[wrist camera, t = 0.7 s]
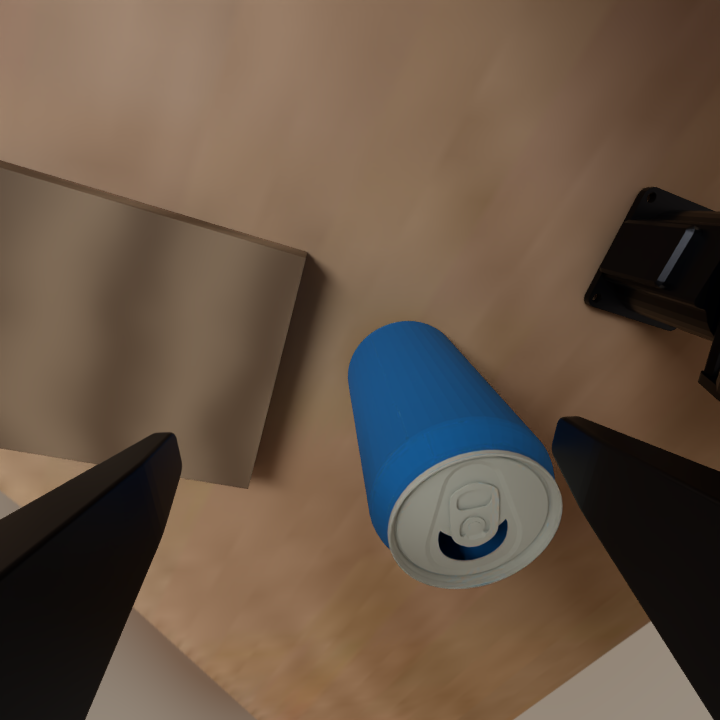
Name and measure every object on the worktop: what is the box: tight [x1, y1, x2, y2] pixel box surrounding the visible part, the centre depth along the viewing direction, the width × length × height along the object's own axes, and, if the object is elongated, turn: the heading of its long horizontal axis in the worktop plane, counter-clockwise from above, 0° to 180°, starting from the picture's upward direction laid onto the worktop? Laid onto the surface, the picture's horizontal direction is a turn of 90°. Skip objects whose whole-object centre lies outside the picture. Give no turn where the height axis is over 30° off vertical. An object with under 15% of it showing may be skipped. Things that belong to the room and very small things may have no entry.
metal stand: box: [0, 160, 307, 489], centre depth 20 cm, size 14×14×2 cm
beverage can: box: [348, 321, 562, 589], centre depth 18 cm, size 6×6×12 cm
